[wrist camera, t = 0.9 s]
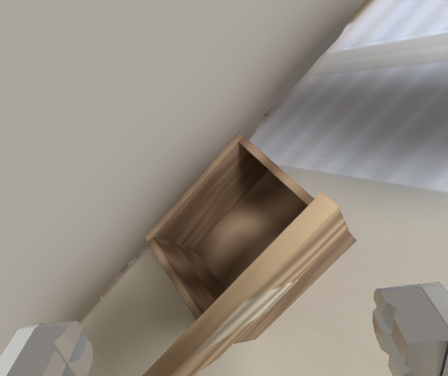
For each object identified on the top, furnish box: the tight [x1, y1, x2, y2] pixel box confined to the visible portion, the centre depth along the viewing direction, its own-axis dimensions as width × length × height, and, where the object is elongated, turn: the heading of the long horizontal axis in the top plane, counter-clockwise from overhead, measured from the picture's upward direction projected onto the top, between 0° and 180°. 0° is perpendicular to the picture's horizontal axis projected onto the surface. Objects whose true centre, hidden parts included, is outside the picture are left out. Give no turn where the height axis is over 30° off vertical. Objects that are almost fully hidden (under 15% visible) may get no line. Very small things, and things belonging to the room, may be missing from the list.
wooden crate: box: [145, 133, 356, 344], centre depth 46 cm, size 18×20×12 cm
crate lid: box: [143, 192, 348, 376], centre depth 28 cm, size 18×20×1 cm
